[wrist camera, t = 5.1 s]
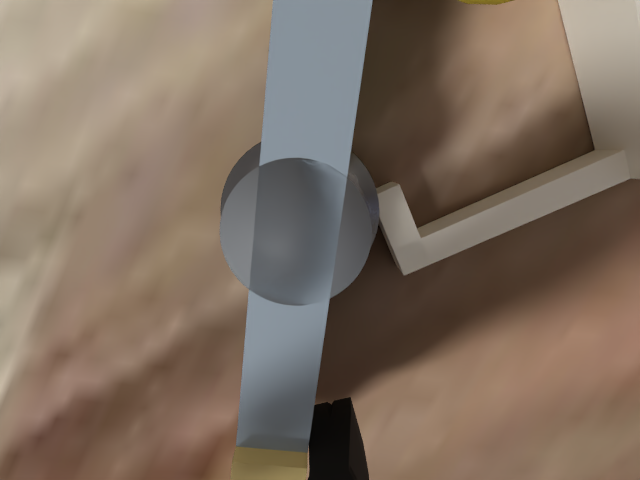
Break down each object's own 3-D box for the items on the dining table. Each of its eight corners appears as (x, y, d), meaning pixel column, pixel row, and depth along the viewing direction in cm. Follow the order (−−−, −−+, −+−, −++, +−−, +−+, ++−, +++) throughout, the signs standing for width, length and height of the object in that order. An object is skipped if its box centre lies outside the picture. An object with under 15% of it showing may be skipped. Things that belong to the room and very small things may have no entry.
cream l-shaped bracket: (547, -194, 10) (624, -307, 7) (628, 164, 12) (705, 166, 10) (265, -45, 11) (251, -102, 8) (395, 264, 13) (414, 289, 11)
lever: (421, -182, 8) (479, -362, 5) (317, 480, 13) (318, 574, 10) (271, -209, 8) (248, -410, 5) (222, 472, 13) (195, 566, 10)
